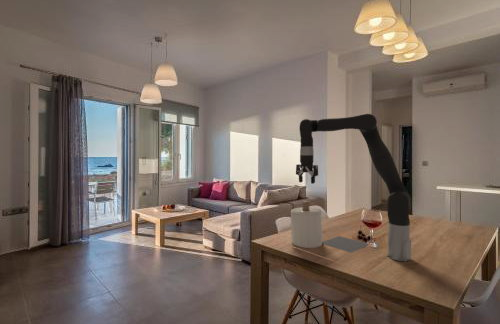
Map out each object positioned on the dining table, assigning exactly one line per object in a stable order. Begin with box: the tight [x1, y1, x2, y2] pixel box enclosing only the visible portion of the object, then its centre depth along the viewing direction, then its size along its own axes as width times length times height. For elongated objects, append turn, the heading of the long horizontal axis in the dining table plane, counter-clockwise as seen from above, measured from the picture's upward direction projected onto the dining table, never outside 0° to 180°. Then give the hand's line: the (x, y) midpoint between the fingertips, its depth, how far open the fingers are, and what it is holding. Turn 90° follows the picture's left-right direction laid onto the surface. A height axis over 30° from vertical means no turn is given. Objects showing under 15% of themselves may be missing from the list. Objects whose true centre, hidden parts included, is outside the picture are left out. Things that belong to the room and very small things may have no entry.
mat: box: [322, 235, 371, 254], centre depth 156 cm, size 20×20×1 cm
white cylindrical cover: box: [290, 200, 323, 249], centre depth 158 cm, size 17×17×24 cm
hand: (306, 182), depth 157 cm, fingers open, 8 cm apart
